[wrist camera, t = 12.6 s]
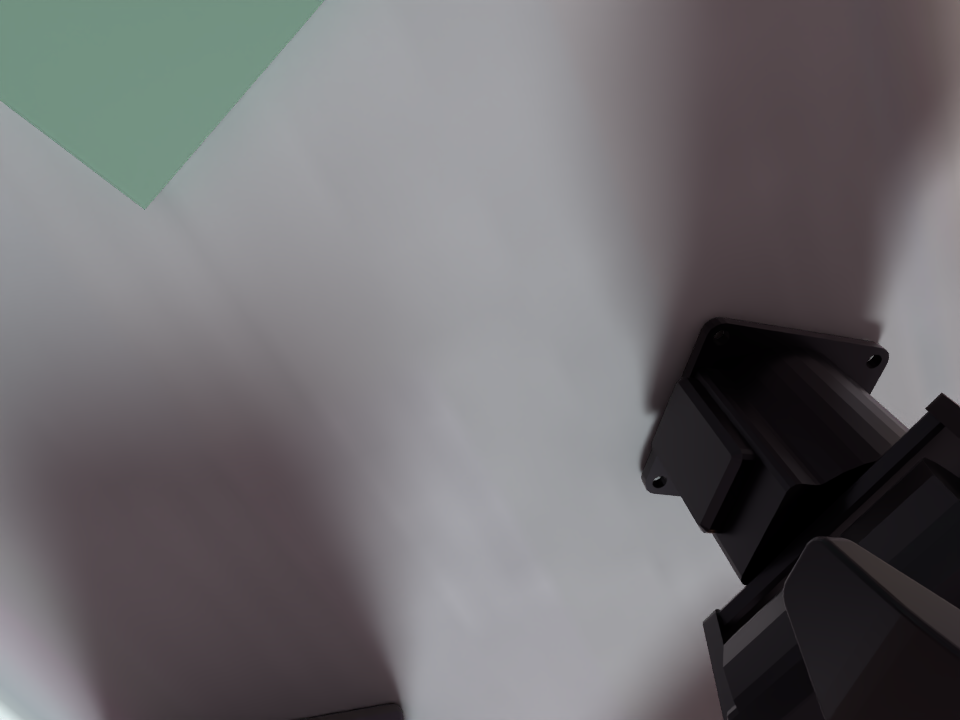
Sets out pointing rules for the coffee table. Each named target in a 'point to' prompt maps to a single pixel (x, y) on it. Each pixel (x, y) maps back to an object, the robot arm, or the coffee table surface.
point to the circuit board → (137, 75)
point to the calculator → (367, 714)
